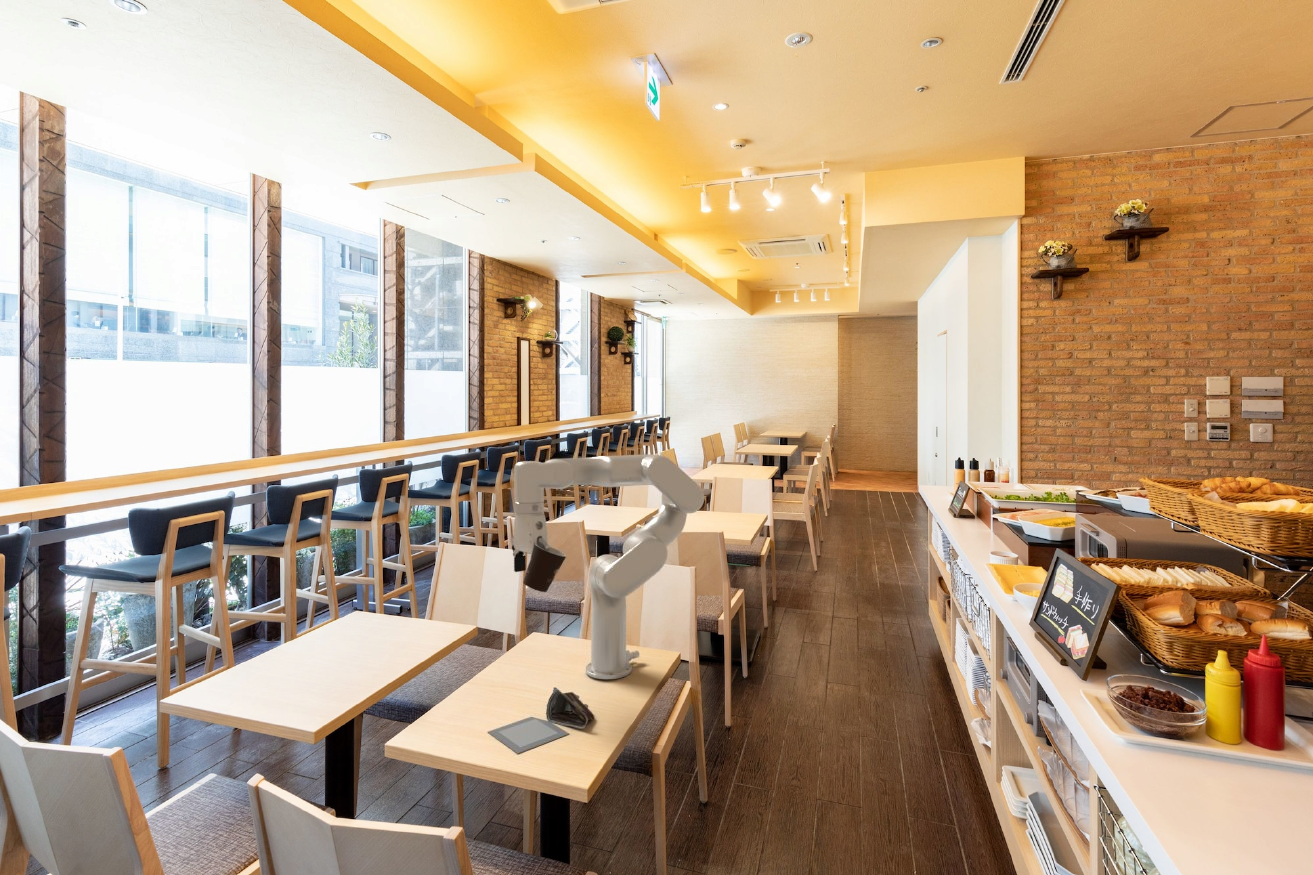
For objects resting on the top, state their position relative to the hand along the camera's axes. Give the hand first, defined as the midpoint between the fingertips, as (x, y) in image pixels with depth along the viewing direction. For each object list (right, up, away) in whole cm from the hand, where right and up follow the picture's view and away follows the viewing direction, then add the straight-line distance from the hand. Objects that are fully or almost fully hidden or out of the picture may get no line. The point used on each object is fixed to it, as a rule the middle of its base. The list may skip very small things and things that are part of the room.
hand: (529, 574), depth 166 cm
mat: (+4, -30, -24) cm, 39 cm away
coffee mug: (+3, -2, -4) cm, 6 cm away
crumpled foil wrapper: (+17, -32, -21) cm, 42 cm away
